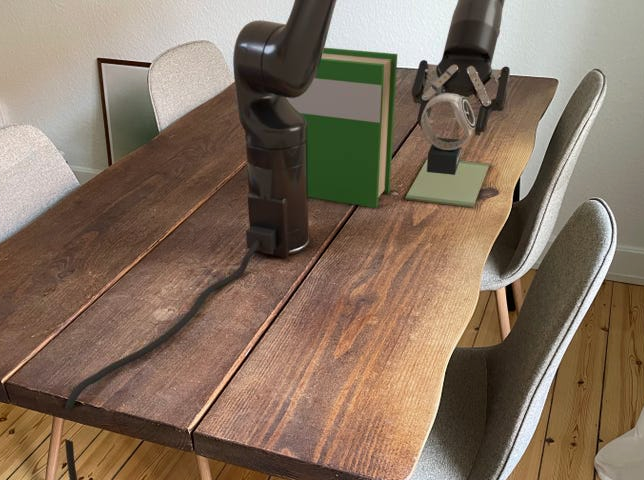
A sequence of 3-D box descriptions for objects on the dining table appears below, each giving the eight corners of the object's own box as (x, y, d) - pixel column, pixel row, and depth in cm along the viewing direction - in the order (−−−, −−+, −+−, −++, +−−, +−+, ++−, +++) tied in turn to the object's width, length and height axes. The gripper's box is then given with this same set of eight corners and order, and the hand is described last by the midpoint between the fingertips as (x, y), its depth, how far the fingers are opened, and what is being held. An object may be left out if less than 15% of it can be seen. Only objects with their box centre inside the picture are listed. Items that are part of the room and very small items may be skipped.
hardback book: (389, 191, 137) (397, 53, 123) (376, 207, 132) (382, 65, 118) (301, 178, 144) (299, 45, 130) (285, 192, 138) (280, 56, 124)
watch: (467, 176, 115) (475, 106, 107) (415, 170, 117) (419, 101, 109) (473, 159, 119) (481, 90, 111) (422, 154, 121) (426, 86, 113)
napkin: (472, 207, 131) (473, 205, 131) (404, 199, 134) (405, 197, 134) (489, 165, 146) (489, 163, 146) (427, 159, 150) (427, 157, 149)
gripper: (425, 15, 115) (400, 113, 113) (521, 20, 111) (496, 123, 109) (430, 43, 122) (407, 136, 120) (520, 49, 118) (498, 146, 116)
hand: (449, 130), depth 115 cm, fingers closed on watch, 8 cm apart
